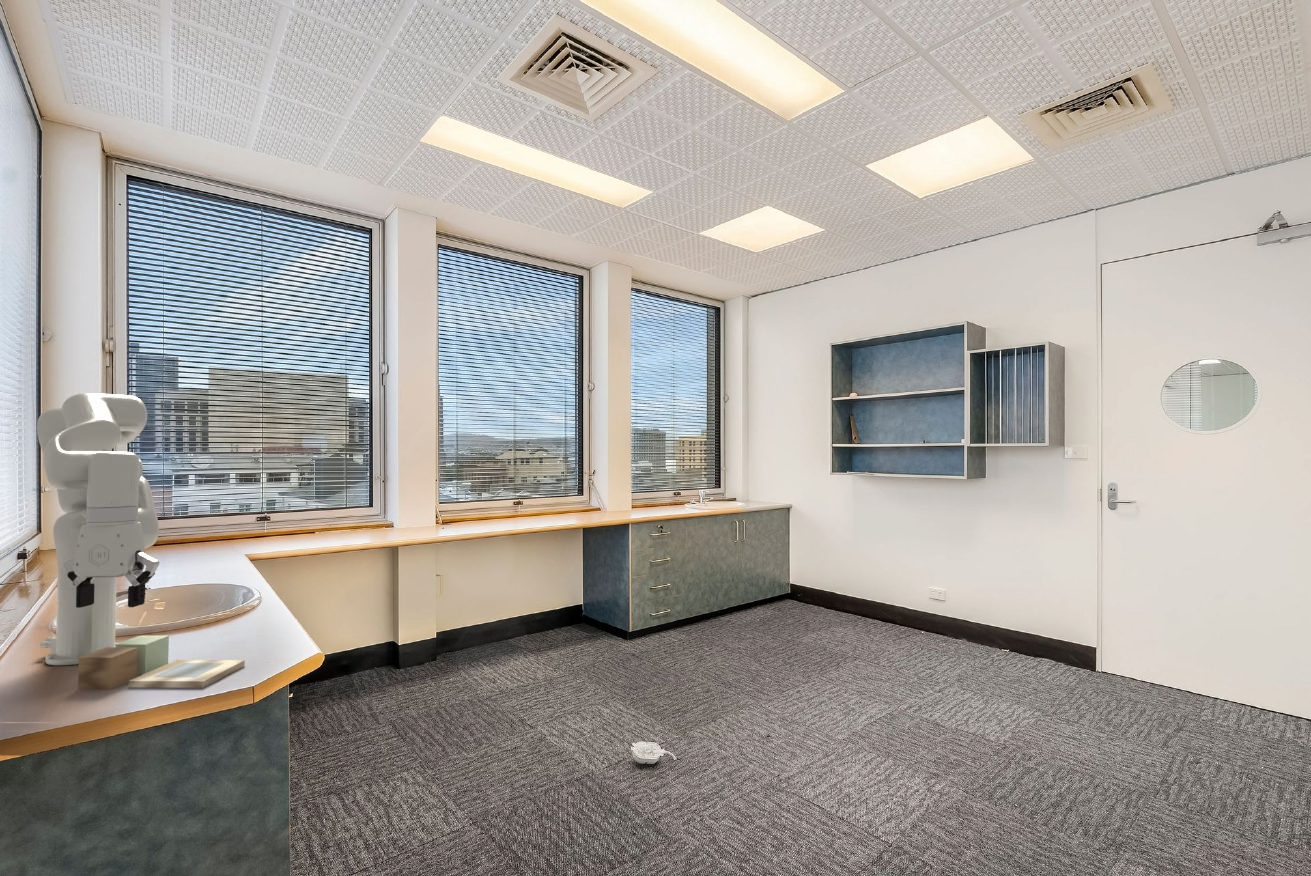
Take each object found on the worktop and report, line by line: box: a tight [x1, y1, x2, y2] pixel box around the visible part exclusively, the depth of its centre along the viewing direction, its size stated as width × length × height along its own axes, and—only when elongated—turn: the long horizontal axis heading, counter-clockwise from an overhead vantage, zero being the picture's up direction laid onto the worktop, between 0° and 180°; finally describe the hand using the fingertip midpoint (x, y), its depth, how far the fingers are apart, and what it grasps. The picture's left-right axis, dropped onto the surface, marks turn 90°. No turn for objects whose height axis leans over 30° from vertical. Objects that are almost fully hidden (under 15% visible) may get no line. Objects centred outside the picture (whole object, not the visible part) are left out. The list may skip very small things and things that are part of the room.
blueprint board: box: [127, 659, 246, 689], centre depth 124 cm, size 14×12×1 cm
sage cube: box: [115, 635, 170, 675], centre depth 128 cm, size 6×6×6 cm
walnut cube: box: [77, 647, 138, 691], centre depth 120 cm, size 6×6×6 cm
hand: (110, 605), depth 120 cm, fingers open, 9 cm apart
